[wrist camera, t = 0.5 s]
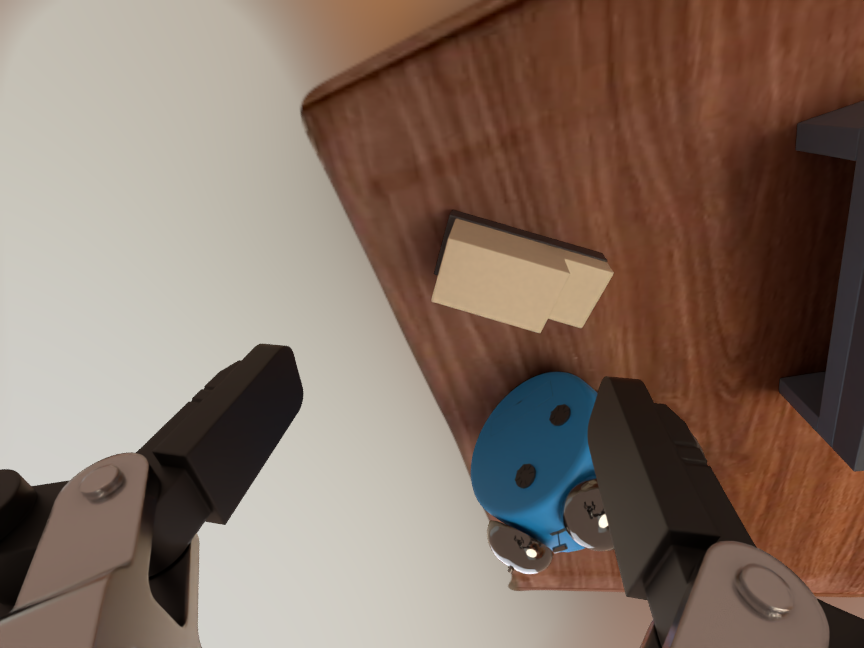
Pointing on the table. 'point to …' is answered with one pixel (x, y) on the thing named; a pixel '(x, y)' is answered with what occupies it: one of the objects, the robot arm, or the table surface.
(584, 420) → the alarm clock
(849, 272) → the grey stand
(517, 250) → the tan stepped block
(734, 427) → the table surface
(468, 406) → the table surface
